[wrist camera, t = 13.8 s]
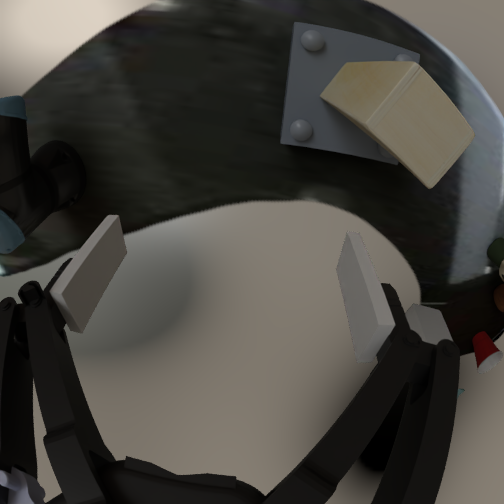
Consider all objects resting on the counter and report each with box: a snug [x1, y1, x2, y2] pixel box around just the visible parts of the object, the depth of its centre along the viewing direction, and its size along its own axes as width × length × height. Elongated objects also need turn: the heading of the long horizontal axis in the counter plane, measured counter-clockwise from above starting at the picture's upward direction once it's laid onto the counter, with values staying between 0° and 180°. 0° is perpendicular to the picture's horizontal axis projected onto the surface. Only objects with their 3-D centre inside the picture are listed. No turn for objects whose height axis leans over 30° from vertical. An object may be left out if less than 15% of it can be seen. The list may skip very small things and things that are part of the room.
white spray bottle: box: [405, 304, 465, 398], centre depth 53 cm, size 11×8×27 cm
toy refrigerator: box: [320, 61, 475, 189], centre depth 24 cm, size 8×7×21 cm
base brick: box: [280, 22, 420, 165], centre depth 35 cm, size 18×18×7 cm
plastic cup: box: [472, 331, 503, 374], centre depth 65 cm, size 11×11×12 cm
